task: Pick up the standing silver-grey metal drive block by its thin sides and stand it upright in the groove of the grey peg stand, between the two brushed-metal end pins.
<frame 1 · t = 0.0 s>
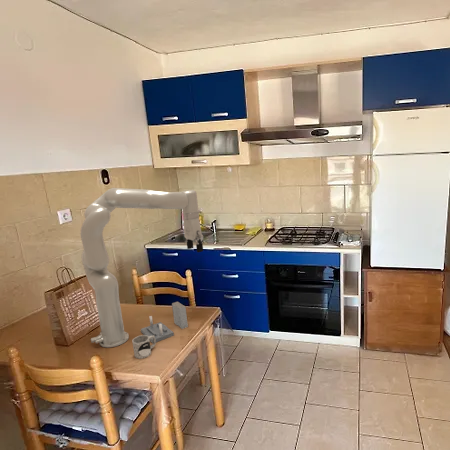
hand: (195, 250, 179), 31 cm above the table, fingers open, 9 cm apart
mug: (146, 352, 149), on the table
grey peg stand: (157, 333, 164), on the table
drive block: (181, 325, 170), on the table
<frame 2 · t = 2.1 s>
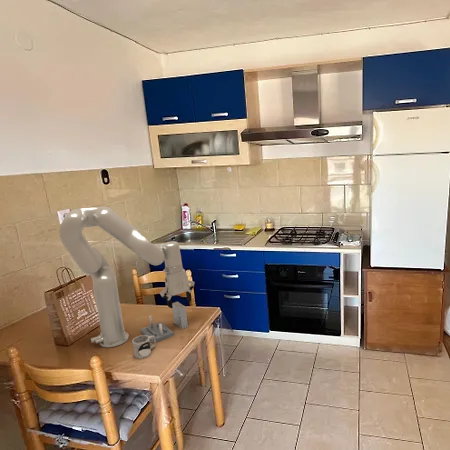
hand: (180, 303, 169), 10 cm above the table, fingers open, 9 cm apart
nothing on the table moved.
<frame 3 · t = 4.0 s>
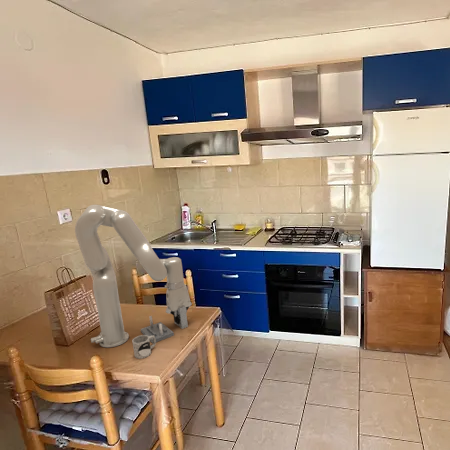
hand: (180, 321, 170), 2 cm above the table, fingers closed on drive block, 3 cm apart
drive block: (181, 324, 170), on the table, touching gripper
everything else where it was.
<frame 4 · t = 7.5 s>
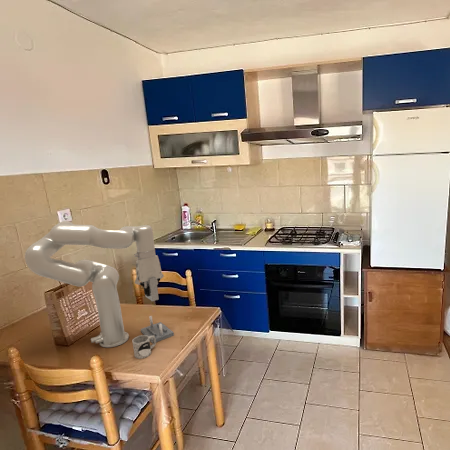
hand: (151, 294, 161), 19 cm above the table, fingers closed on drive block, 3 cm apart
drive block: (151, 297, 161), point 17 cm above the table, touching gripper
everything else where it was.
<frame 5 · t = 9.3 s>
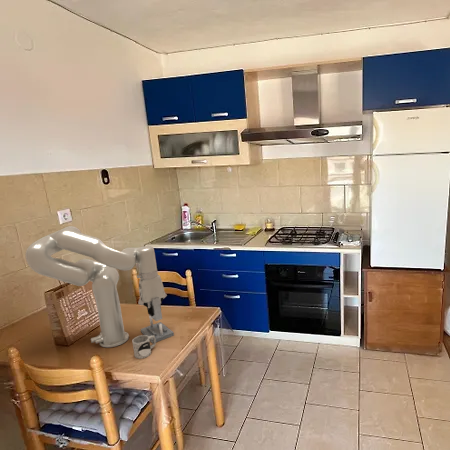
hand: (155, 313, 162), 10 cm above the table, fingers closed on drive block, 3 cm apart
drive block: (155, 317, 163), point 8 cm above the table, touching gripper
everything else where it was.
when the fingers open (5 cm above the table, at t = 10.9 s): drive block drops 1 cm, resting on grey peg stand.
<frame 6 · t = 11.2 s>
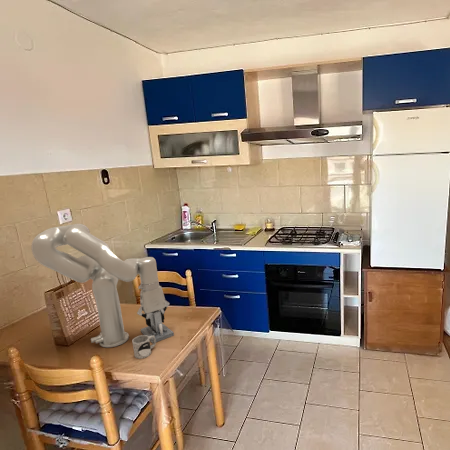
hand: (155, 323, 163), 5 cm above the table, fingers open, 5 cm apart
drive block: (156, 330, 164), point 2 cm above the table, touching grey peg stand
everything else where it was.
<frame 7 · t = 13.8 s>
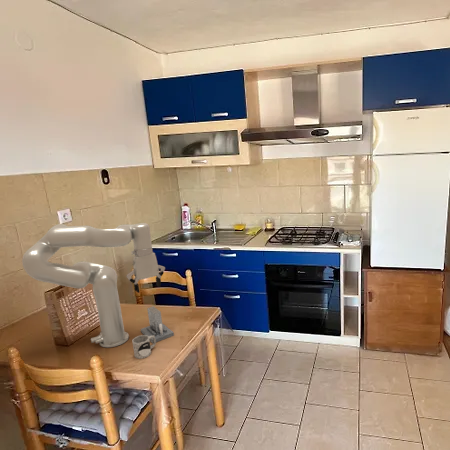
hand: (148, 289, 161), 21 cm above the table, fingers open, 9 cm apart
nothing on the table moved.
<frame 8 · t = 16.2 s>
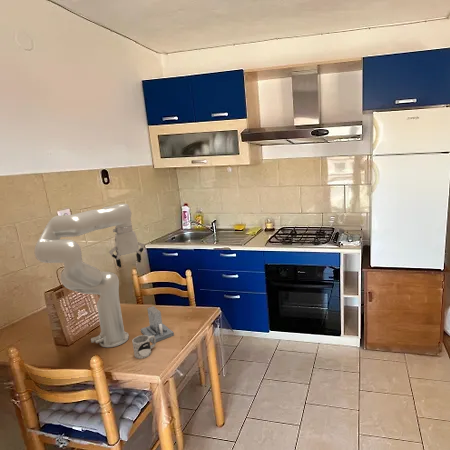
hand: (129, 264, 176), 28 cm above the table, fingers open, 9 cm apart
nothing on the table moved.
at the end: drive block 0.0 cm off-centre on the grey peg stand, point 1.5 cm above the grey peg stand's base; drive block tilted 0°; the gripper is holding nothing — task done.
